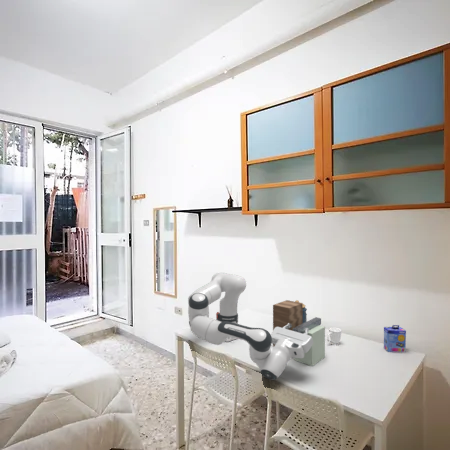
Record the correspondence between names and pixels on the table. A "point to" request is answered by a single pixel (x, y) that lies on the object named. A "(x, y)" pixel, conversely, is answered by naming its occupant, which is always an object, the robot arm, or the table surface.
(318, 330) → the sage block
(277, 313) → the walnut stand
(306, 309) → the canister
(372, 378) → the table surface
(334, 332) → the cup
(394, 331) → the ink cartridge box
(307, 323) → the metal bar
